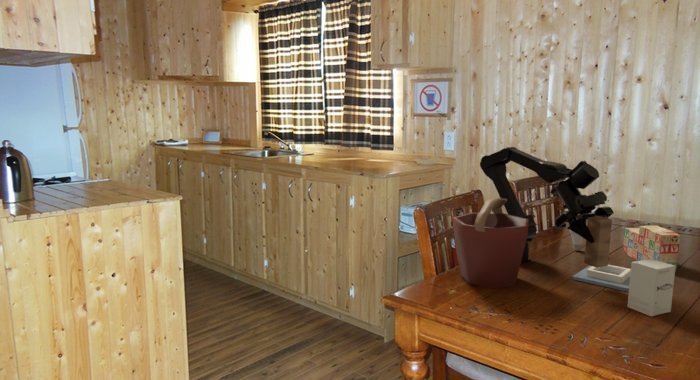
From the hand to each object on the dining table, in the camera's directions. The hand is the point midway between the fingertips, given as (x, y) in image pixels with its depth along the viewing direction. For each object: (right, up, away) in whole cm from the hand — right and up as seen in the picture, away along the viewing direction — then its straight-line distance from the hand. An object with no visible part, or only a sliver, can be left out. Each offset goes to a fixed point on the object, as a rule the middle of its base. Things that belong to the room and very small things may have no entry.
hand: (599, 241), depth 152 cm
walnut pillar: (0, -7, +2) cm, 7 cm away
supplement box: (+5, -16, -16) cm, 24 cm away
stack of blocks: (+29, -10, +25) cm, 39 cm away
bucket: (-29, -13, +8) cm, 33 cm away
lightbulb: (+10, -7, +38) cm, 40 cm away
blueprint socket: (+6, -12, +7) cm, 16 cm away
